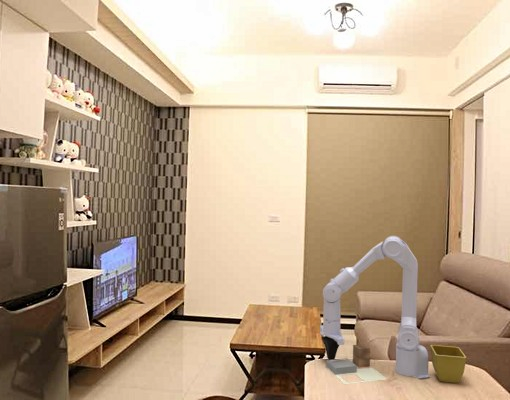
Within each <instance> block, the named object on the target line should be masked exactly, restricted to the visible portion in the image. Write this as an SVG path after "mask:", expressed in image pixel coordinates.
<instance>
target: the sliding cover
mask: <svg viewBox="0 0 510 400" xmlns="http://www.w3.org/2000/svg"><path fill="white" fill-rule="evenodd" d="M325 363H326V364H325V365H326V366H325V368H326V367H327V368H329V369H330V370H331V371H332V372H333V373H334V374H335V375H336V374H345V373H354V372H357V366H356V365H355V364H354V363H353V361H351V360H350V359H349V358H347V357H346V358H337V359H336V358H335V359H333V360H329V359H326V361H325ZM327 368H326V369H327ZM330 370H329V371H330ZM331 371H330V372H331ZM332 372H331V373H332ZM333 373H332V374H333ZM334 374H333V375H334ZM335 375H334V376H335Z"/></svg>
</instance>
